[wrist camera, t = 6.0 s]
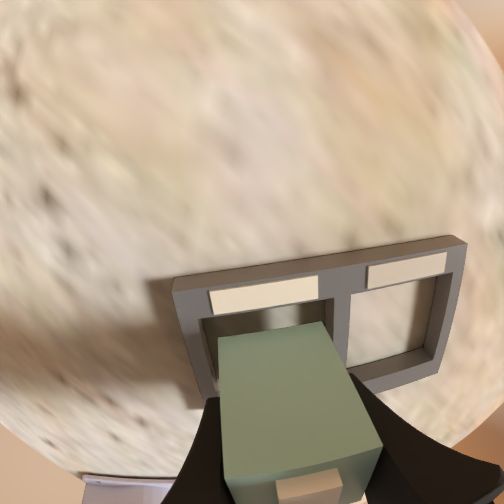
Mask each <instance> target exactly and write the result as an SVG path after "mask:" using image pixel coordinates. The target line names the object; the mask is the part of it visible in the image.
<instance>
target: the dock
mask: <svg viewBox="0 0 504 504" xmlns="http://www.w3.org/2000/svg"><path fill="white" fill-rule="evenodd" d="M466 251H467V243H466V242H464V241H462V240H460V239H459V238H457V237H455V236H454V235H449V236H443V237H437V238H431V239H425V240H419V241H413V242H407V243H401V244H395V245H389V246H383V247H376V248H370V249H364V250H357V251H351V252H345V253H338V254H332V255H325V256H319V257H312V258H306V259H299V260H293V261H286V262H279V263H273V264H266V265H259V266H252V267H246V268H239V269H232V270H225V271H218V272H211V273H204V274H197V275H190V276H182V277H175V279H174V283H173V287H172V291H171V293H172V297H173V301H174V305H175V308H176V312H177V316H178V320H179V323H180V327H181V330H182V334H183V337H184V341H185V344H186V348H187V351H188V355H189V358H190V361H191V365H192V368H193V371H194V374H195V377H196V381H197V384H198V387H199V390H200V393H201V396H202V399H203V402H204V405H205V402H206V400H207V399H208V398H211V397H220V391H219V387H218V383H217V379H216V376H215V372H214V368H213V364H212V360H211V356H210V352H209V348H208V344H207V340H206V336H205V332H204V327H203V323H202V319H201V318H209V317H217V316H224V315H231V314H238V313H245V312H252V311H258V310H265V309H271V308H277V307H283V306H289V305H295V304H301V303H307V302H313V301H318V300H324V299H325V328H326V330H327V332H328V334H329V336H330V338H331V340H332V342H333V344H334V346H335V348H336V350H337V352H338V354H339V356H340V358H341V360H342V362H343V364H344V366H345V368H346V360H347V349H348V335H349V320H350V301H351V294H355V293H360V292H365V291H370V290H375V289H380V288H385V287H390V286H394V285H399V284H403V283H408V282H412V281H417V280H421V279H426V278H430V277H434V276H437V281H436V287H435V293H434V299H433V304H432V309H431V315H430V319H429V324H428V329H427V333H426V337H425V342H424V346H423V348H420V349H416V350H413V351H410V352H407V353H404V354H400V355H397V356H393V357H390V358H387V359H383V360H379V361H376V362H372V363H368V364H364V365H361V366H357V367H353V368H349V369H346V370H347V372H348V373H353V374H354V375H355V376H356V377H357V378H358V379H359V380H360V381H361V382H362V383H363V384H364V385H365V386H366V387H367V388H368V389H369V390H370V391H371V392H372V393H373V394H377V393H380V392H383V391H386V390H390V389H393V388H396V387H399V386H402V385H405V384H408V383H411V382H414V381H417V380H419V379H422V378H425V377H428V376H430V375H433V374H436V373H438V370H439V367H440V364H441V361H442V357H443V354H444V351H445V347H446V344H447V340H448V337H449V333H450V329H451V326H452V322H453V318H454V313H455V309H456V305H457V300H458V296H459V291H460V286H461V281H462V275H463V270H464V264H465V258H466Z"/></svg>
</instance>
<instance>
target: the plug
mask: <svg viewBox="0 0 504 504" xmlns="http://www.w3.org/2000/svg"><path fill="white" fill-rule="evenodd" d="M218 361H219V388H220V411H221V431H222V449H223V465H224V479H225V481H226V483H227V486H228V488H229V490H230V492H231V494H232V497H233V499H234V501H235V503H236V504H350V503H353V502H357V501H360V500H361V499H362V496H363V494H364V492H365V490H366V487H367V485H368V483H369V481H370V478H371V476H372V473H373V471H374V468H375V466H376V463H377V461H378V458H379V456H380V453H381V450H382V448H383V444H382V442H381V440H380V438H379V436H378V434H377V431H376V429H375V427H374V425H373V423H372V421H371V419H370V417H369V415H368V413H367V411H366V409H365V407H364V404H363V402H362V400H361V398H360V396H359V394H358V392H357V390H356V388H355V386H354V384H353V382H352V380H351V378H350V376H349V374H348V372H347V370H346V368H345V366H344V364H343V362H342V360H341V358H340V356H339V354H338V352H337V350H336V348H335V346H334V344H333V342H332V340H331V338H330V336H329V334H328V332H327V330H326V328H325V326H324V324H323V323H322V321H319V322H314V323H308V324H303V325H297V326H291V327H285V328H280V329H273V330H267V331H261V332H254V333H248V334H241V335H234V336H227V337H219V338H218Z"/></svg>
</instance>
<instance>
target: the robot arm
mask: <svg viewBox="0 0 504 504" xmlns="http://www.w3.org/2000/svg"><path fill="white" fill-rule="evenodd" d="M348 374H349V376H350V378H351V380H352V382H353V384H354V386H355V388H356V390H357V392H358V394H359V396H360V398H361V400H362V402H363V404H364V407H365V409H366V411H367V413H368V415H369V417H370V419H371V421H372V423H373V425H374V427H375V429H376V431H377V434H378V436H379V438H380V440H381V442H382V444H383V448H382V450H381V453H380V456H379V458H378V461H377V463H376V466H375V468H374V471H373V473H372V476H371V478H370V481H369V483H368V485H367V487H366V490H365V495H366V499H367V502H368V504H494V502H493V500H494V499H495V498H496V497H497V496H498V495H499V494H500V493H501V492H503V491H504V471H503V470H502V469H501V467H500V466H499V465H496V464H492V463H489V462H485V461H481V460H478V459H475V458H472V457H469V456H467V455H464V454H461V453H459V452H457V451H455V450H453V449H451V448H449V447H446V446H444V445H442V444H440V443H438V442H437V441H435V440H433V439H431V438H430V437H428V436H426V435H425V434H423V433H422V432H420V431H418V430H417V429H416V428H414V427H413V426H411V425H410V424H409V423H407V422H406V421H405V420H403V419H402V418H401V417H399V416H398V415H397V414H396V413H394V412H393V411H392V410H391V409H390V408H389V407H387V406H386V405H385V404H384V403H383V402H382V401H381V400H380V399H379V398H377V397H376V396H375V395H374V394H373V393H372V392H371V391H370V390H369V389H368V388H367V387H366V386H365V385H364V384H363V383H362V382H361V381H360V380H359V379H358V378H357V377H356V376H355V375H354V374H353V373H348ZM82 480H83V481H84V482H85V483H86V486H85V491H84V496H83V501H82V504H236V503H235V501H234V499H233V497H232V494H231V492H230V490H229V488H228V486H227V483H226V481H225V479H224V465H223V449H222V431H221V411H220V397H211V398H208V399H207V400H206V402H205V407H204V411H203V415H202V419H201V422H200V425H199V428H198V431H197V434H196V436H195V439H194V441H193V444H192V447H191V449H190V451H189V454H188V456H187V458H186V460H185V462H184V464H183V467H182V469H181V471H180V472H179V474H178V476H177V478H176V479H175V480H157V479H129V478H114V477H103V476H94V475H83V476H82Z"/></svg>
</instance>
